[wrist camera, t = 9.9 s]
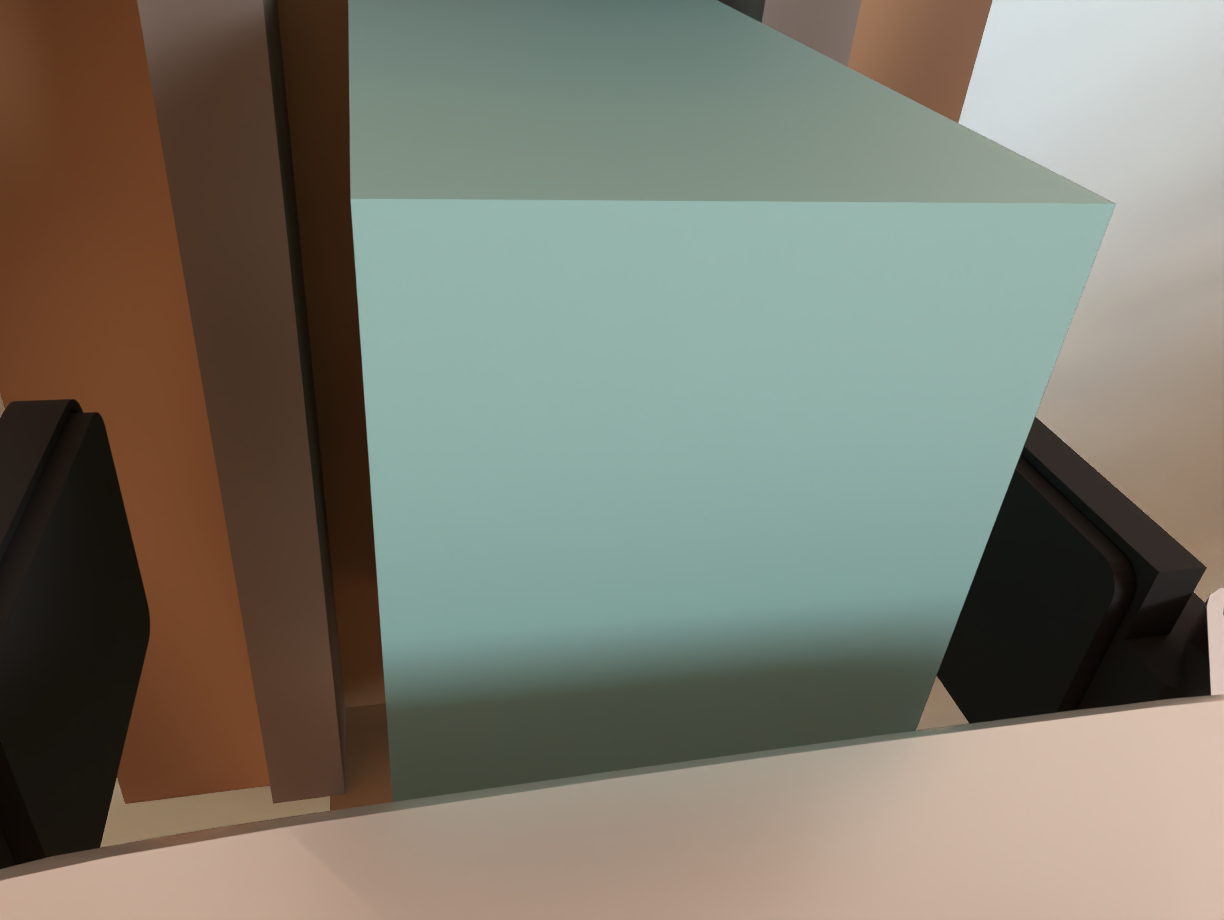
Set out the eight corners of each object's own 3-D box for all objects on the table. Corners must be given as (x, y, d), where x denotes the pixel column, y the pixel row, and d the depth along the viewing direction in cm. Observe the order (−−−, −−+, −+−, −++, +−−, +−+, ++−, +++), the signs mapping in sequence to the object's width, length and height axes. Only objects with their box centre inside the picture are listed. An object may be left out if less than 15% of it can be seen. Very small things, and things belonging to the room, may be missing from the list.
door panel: (665, -28, 12) (1114, 204, 5) (605, 565, 18) (781, 1080, 11) (347, -47, 11) (351, 197, 4) (387, 584, 17) (418, 1162, 10)
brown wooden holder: (1072, -460, 12) (1973, -798, 5) (775, 686, 23) (947, 1036, 16) (-293, -740, 8) (-2485, -2627, 2) (134, 762, 19) (28, 1240, 13)
